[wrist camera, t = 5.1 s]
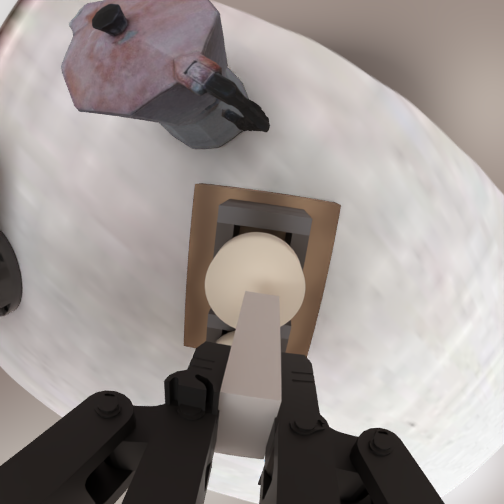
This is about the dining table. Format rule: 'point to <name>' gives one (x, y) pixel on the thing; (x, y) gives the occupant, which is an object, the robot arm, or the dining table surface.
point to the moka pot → (159, 69)
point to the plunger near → (254, 275)
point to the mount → (267, 221)
